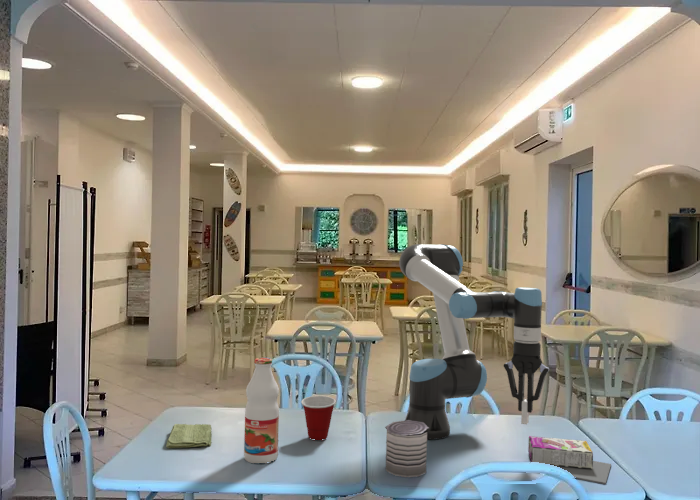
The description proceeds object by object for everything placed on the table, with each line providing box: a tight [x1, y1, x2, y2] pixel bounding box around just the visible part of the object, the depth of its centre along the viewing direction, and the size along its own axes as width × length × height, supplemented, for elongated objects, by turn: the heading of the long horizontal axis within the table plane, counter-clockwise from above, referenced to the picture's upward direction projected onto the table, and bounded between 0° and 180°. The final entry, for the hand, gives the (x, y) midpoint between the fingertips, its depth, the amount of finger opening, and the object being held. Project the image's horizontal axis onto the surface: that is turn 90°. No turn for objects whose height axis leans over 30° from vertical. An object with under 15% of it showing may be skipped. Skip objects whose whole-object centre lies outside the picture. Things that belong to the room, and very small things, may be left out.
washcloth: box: [165, 423, 213, 449], centre depth 184 cm, size 13×18×3 cm
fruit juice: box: [243, 357, 280, 464], centre depth 169 cm, size 9×9×28 cm
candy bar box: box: [527, 435, 594, 469], centre depth 172 cm, size 11×5×16 cm
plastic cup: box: [300, 395, 337, 441], centre depth 188 cm, size 11×11×12 cm
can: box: [384, 419, 429, 478], centre depth 163 cm, size 11×11×12 cm
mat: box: [557, 460, 612, 485], centre depth 168 cm, size 20×16×1 cm
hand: (524, 422), depth 174 cm, fingers closed
